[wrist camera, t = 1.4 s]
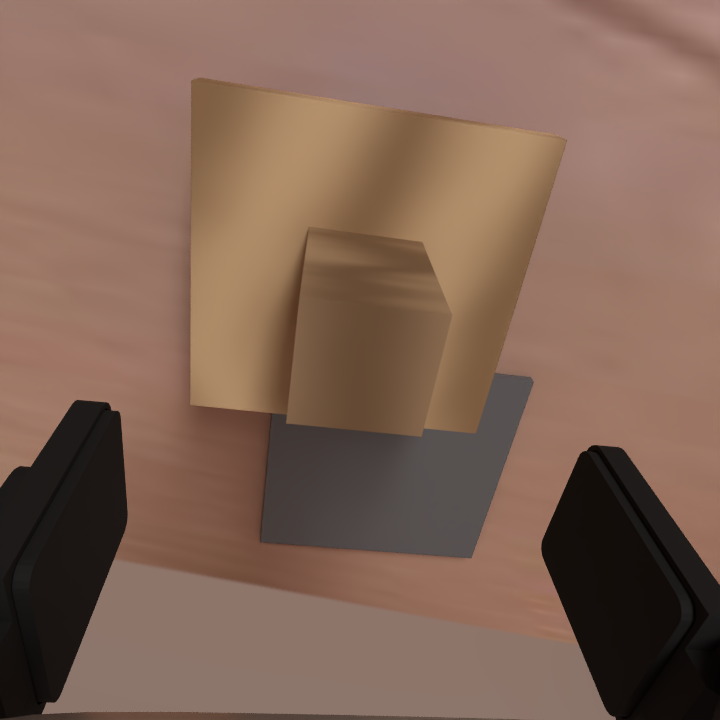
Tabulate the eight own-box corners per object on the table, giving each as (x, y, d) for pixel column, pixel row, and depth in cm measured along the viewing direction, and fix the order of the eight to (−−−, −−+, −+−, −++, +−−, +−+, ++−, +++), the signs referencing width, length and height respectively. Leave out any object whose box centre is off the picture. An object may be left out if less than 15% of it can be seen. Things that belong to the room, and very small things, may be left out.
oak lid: (554, 134, 20) (656, 182, 13) (470, 417, 25) (513, 542, 19) (199, 77, 18) (129, 101, 12) (196, 388, 24) (148, 512, 18)
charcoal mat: (530, 377, 32) (533, 382, 31) (469, 552, 39) (471, 558, 38) (278, 349, 30) (277, 353, 30) (261, 536, 37) (260, 542, 37)
